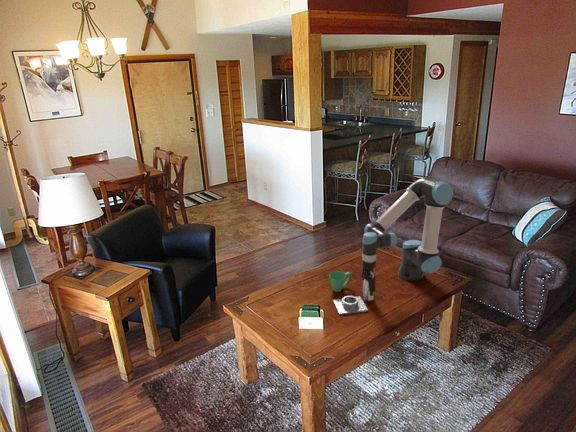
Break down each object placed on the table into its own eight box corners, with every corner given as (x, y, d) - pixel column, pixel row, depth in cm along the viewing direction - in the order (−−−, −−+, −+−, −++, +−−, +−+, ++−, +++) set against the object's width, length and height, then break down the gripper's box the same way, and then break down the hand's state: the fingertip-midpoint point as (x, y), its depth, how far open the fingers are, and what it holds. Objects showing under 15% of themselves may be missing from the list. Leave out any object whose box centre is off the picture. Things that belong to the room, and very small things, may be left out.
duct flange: (359, 297, 231) (360, 291, 230) (368, 311, 218) (368, 305, 217) (332, 301, 229) (332, 295, 228) (339, 315, 216) (339, 308, 215)
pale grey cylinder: (370, 296, 232) (371, 277, 228) (373, 300, 228) (374, 281, 223) (362, 297, 232) (362, 278, 227) (365, 301, 227) (365, 282, 223)
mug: (335, 295, 234) (335, 280, 230) (326, 288, 242) (325, 273, 238) (355, 288, 240) (355, 274, 237) (345, 281, 248) (345, 267, 245)
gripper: (356, 252, 230) (355, 286, 238) (369, 269, 210) (367, 306, 218) (368, 250, 231) (367, 284, 239) (382, 268, 211) (381, 304, 219)
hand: (367, 295), depth 229 cm, fingers open, 9 cm apart
